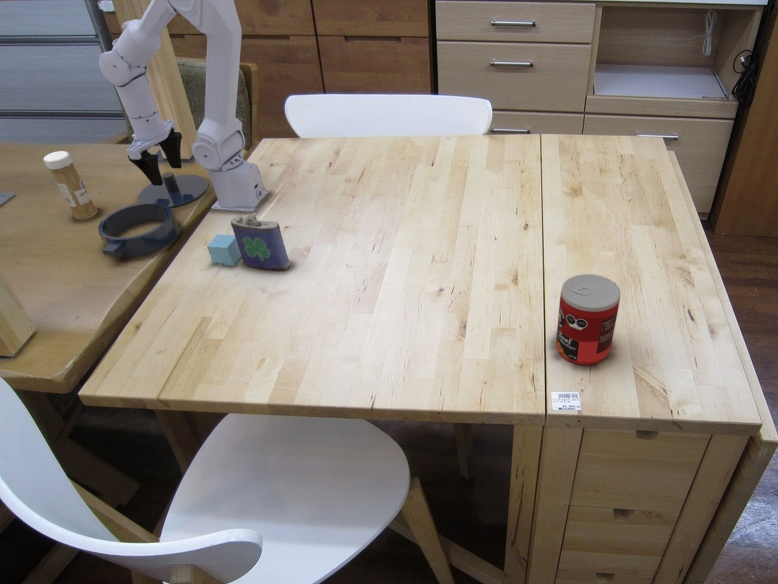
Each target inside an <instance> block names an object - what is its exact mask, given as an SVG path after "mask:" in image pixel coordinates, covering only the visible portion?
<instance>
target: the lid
mask: <svg viewBox="0 0 778 584" xmlns="http://www.w3.org/2000/svg"><path fill="white" fill-rule="evenodd" d="M161 177H162V180H163V185H162V186H156V185H152V183H151V182H150V183H149V184H148V185H147V186H146V187H143V189H141V191H140V192H139V194H138V201H139V203H144V202H155V201H156V200H157V199H158V198H161V199H169V201H170V204H169V205H168V206H169V207H170V208H171V209H175V208H179V207H183V206H186V205H188V204H190V203H193V202H195V201H197V200H198V199H200V198H201V197H202V196H204V195H205V194H206V193H207V191H208V189H209V182H208V181H207V179H206V178H204V177H203V176H201V175H198V174H197V175H196V174H187V173H185V174H176V175H175V174H174V172H171V171H169V172H164V173H162V174H161Z"/></svg>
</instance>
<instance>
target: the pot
mask: <svg viewBox="0 0 778 584" xmlns="http://www.w3.org/2000/svg"><path fill="white" fill-rule="evenodd" d="M169 204H170V201H169V199H161V198H158V199H157V200H156V201H155V202H144V203H140V202H139V203H134V204H130V205H126V206H124V207H121V208H118V209H117V210H115V211H112V212H111V213H109V214H108V215H107V216H105V217H104V218H103V219H102V220H101V221H100V223H98V226H97V230H98V235H99V236H100V239H101V240H102V243H103V244H104V246H105V247H104V248H102V249H101V252H102V253H103V255H104V256H115V257H118V258H125V259H131V258H138V257H139V258H140V257H144V256H149V255H151V254H154V253H155V252H159V251H161V250H163V249H164V248H166V247H168V246H169V245H171V244H172V243H173V242H174V241H175V240H176V239H177V238H178V237H179V234H180V226H179V225H178V222H177V220H176V217H175V215H174V213H173V209H172V208H170V207H169V206H168V205H169ZM149 222H162V223H161V224H160V225H158V226H156V227H155V228H153V229H151V230H149V231H146V232H143V233H141V234H137V235H132V236H123V237H122V236H121V237H118V235H119V234H120V233H121V232H123V231H125V230H126V229H129V228H131V227H135V226H136V225H139V224H144V223H149Z"/></svg>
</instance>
